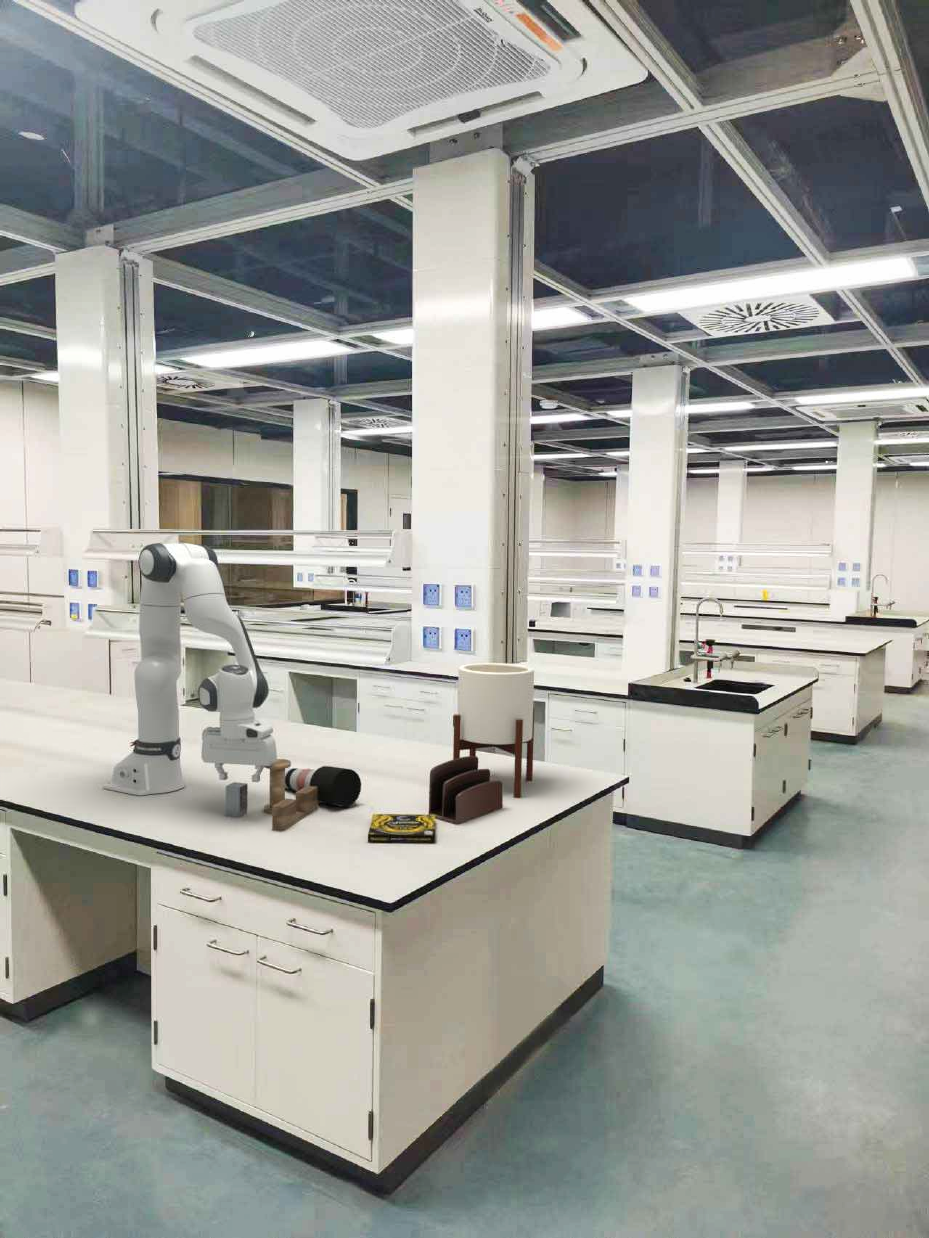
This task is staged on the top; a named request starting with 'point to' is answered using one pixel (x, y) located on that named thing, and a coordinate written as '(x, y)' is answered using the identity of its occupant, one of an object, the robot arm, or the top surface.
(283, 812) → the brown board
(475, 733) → the plant pot with stand
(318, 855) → the top surface
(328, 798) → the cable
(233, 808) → the block
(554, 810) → the top surface
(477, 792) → the letter holder
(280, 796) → the bobbin
